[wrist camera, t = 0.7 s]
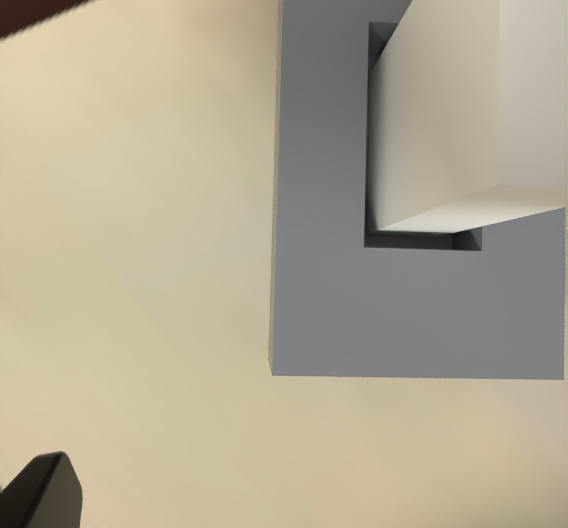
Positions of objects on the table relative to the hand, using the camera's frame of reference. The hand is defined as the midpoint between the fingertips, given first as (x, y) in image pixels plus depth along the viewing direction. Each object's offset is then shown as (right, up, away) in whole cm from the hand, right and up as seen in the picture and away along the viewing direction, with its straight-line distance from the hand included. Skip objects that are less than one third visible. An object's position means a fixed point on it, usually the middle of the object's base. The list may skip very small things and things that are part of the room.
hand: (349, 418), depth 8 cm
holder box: (+4, +7, +14) cm, 16 cm away
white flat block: (+4, +7, +13) cm, 15 cm away
